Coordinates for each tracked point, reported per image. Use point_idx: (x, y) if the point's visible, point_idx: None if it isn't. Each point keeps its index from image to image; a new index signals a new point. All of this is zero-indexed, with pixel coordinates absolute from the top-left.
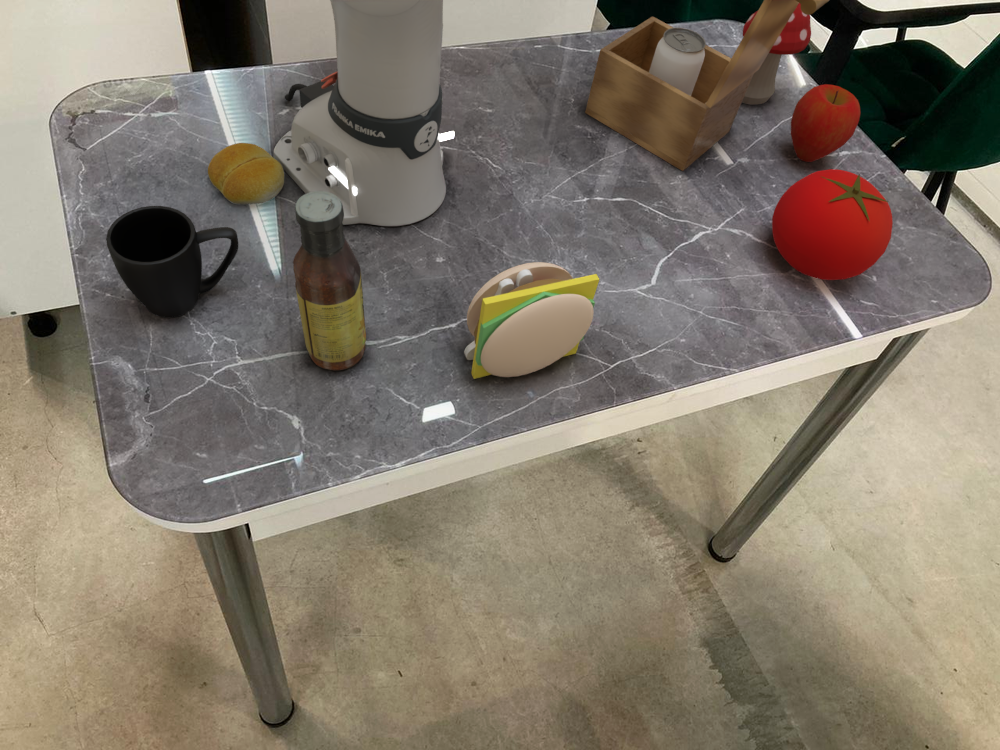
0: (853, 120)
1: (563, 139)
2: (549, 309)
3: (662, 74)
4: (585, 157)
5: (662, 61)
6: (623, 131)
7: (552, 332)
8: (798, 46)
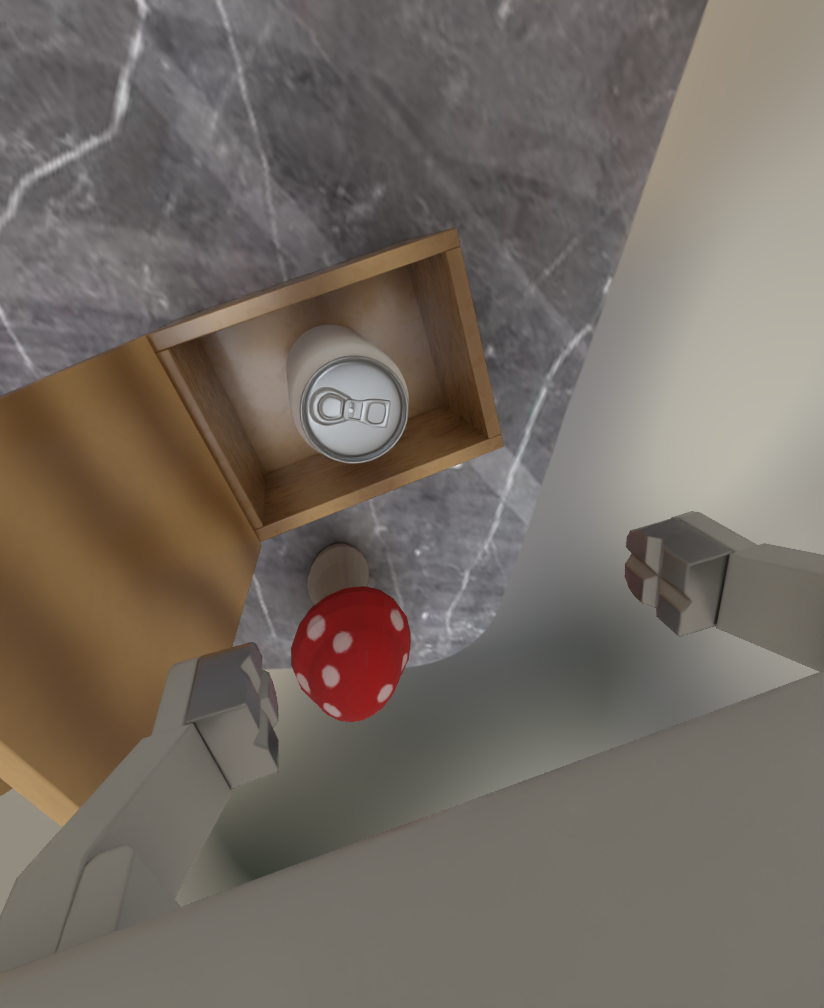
0: None
1: (355, 123)
2: None
3: (327, 339)
4: (283, 129)
5: (341, 341)
6: (321, 269)
7: None
8: (292, 662)
